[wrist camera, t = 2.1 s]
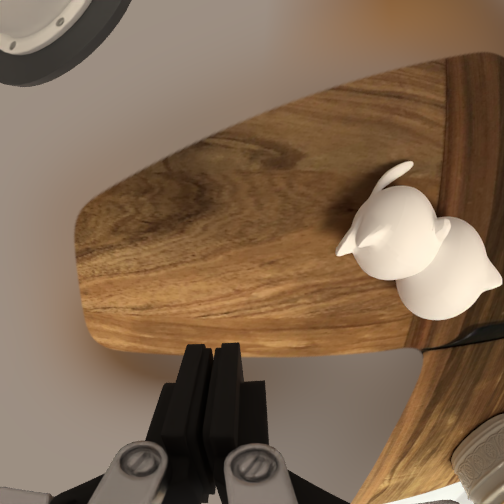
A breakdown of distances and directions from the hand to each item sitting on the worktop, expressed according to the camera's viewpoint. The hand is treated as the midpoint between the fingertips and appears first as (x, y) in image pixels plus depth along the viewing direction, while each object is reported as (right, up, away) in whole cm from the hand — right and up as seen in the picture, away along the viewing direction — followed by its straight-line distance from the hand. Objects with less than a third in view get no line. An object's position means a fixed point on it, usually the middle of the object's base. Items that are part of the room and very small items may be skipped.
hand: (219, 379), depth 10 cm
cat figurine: (+14, +6, +14) cm, 21 cm away
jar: (+38, -26, +25) cm, 53 cm away
